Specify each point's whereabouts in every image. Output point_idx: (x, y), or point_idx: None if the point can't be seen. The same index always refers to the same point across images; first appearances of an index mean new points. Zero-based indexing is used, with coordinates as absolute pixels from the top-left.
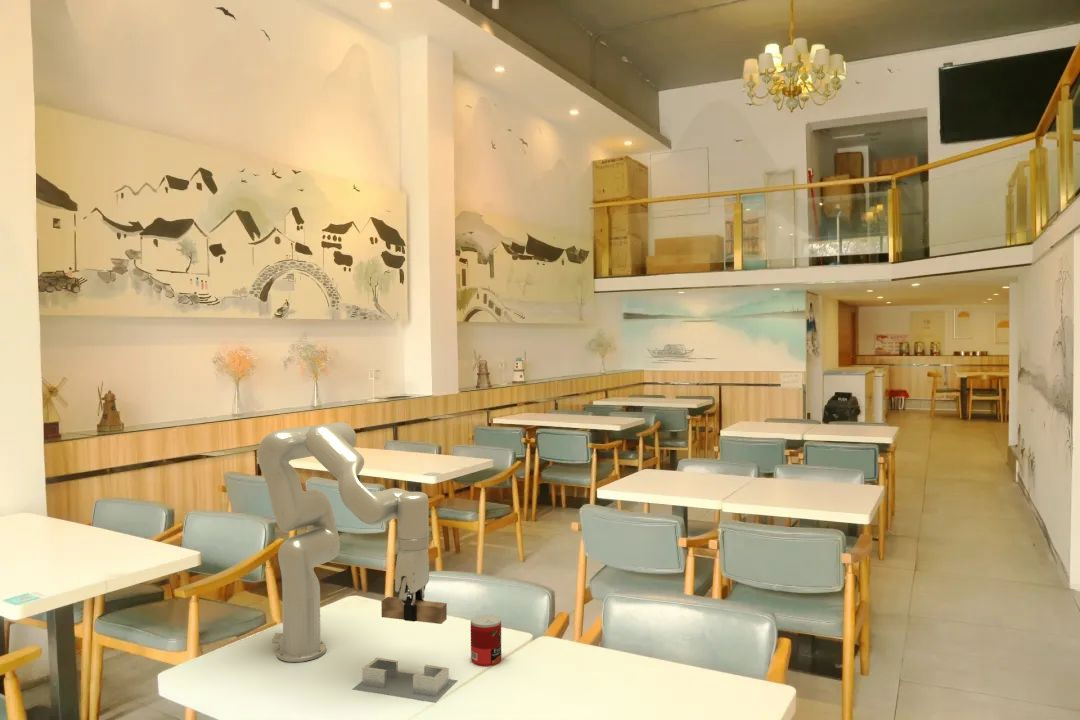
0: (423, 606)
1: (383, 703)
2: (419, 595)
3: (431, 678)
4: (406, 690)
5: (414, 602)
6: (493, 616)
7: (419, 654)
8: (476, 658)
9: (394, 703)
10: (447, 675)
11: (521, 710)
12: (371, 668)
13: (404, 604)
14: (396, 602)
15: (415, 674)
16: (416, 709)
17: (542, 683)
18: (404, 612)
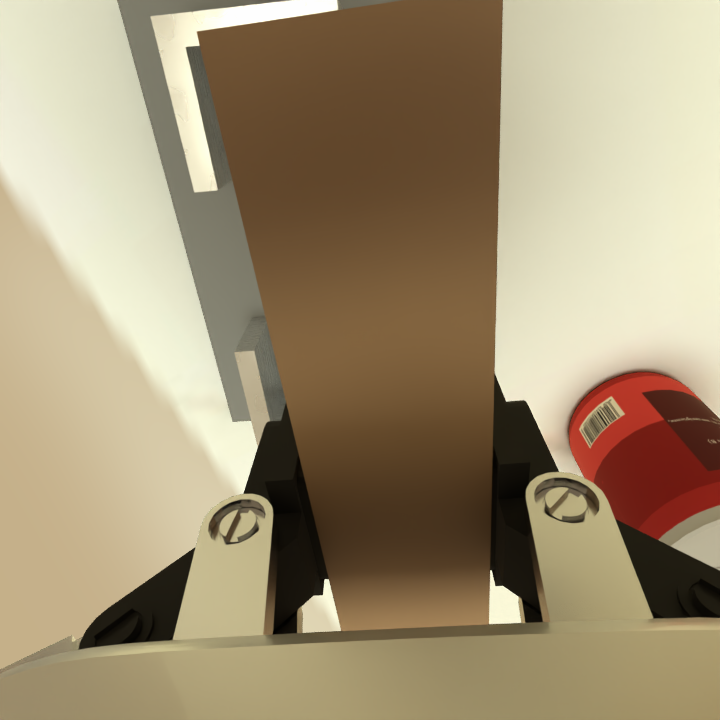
0: (342, 629)
1: (129, 245)
2: (528, 594)
3: (255, 428)
4: (256, 280)
5: (293, 617)
6: None
7: (677, 88)
8: (583, 431)
9: (156, 286)
10: None
11: (324, 600)
12: (183, 84)
13: (218, 526)
14: (281, 358)
15: (252, 354)
16: (170, 380)
17: (494, 597)
18: (286, 417)
